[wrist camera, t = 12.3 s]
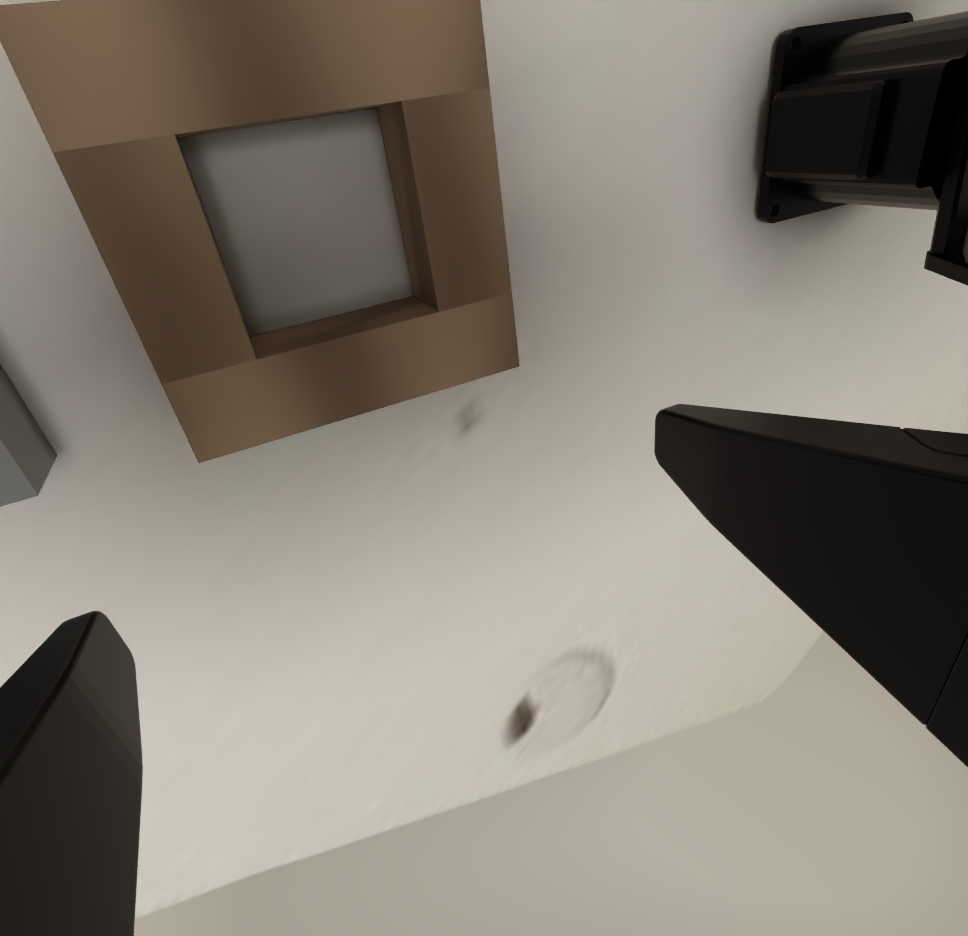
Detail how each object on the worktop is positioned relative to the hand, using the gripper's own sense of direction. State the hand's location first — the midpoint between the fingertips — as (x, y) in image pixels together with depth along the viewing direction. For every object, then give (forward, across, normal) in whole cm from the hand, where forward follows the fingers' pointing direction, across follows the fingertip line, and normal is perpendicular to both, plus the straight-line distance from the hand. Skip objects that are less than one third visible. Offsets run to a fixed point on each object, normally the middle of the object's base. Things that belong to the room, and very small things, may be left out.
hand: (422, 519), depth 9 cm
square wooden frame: (+12, -1, -3) cm, 12 cm away
